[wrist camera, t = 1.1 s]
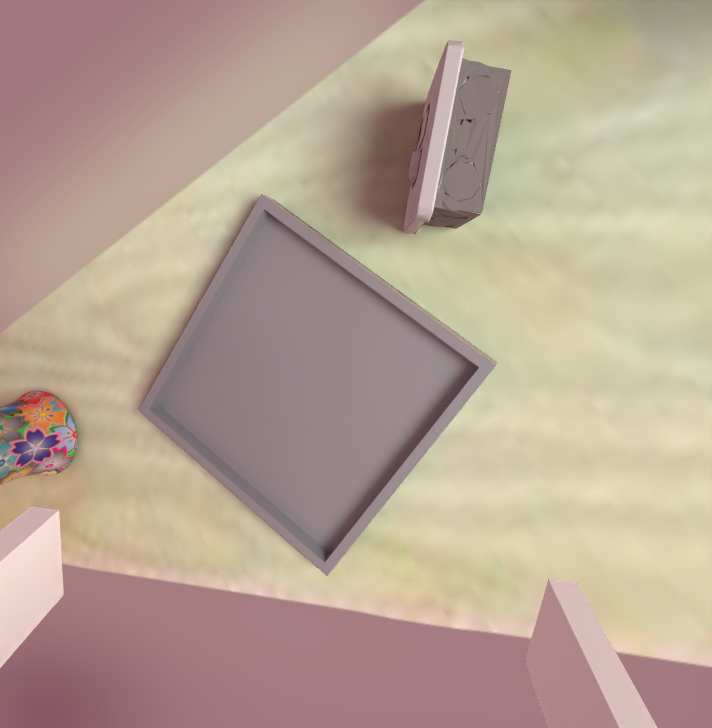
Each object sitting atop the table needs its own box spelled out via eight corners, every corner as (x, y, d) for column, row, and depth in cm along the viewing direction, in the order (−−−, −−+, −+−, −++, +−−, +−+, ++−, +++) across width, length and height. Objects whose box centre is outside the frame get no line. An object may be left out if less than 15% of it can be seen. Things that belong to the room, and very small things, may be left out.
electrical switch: (427, 100, 34) (417, 31, 25) (500, 108, 33) (517, 39, 24) (403, 233, 36) (385, 213, 27) (472, 244, 35) (478, 227, 26)
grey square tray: (273, 199, 39) (261, 193, 37) (496, 362, 35) (495, 365, 33) (154, 405, 44) (138, 410, 42) (335, 563, 41) (327, 576, 39)
